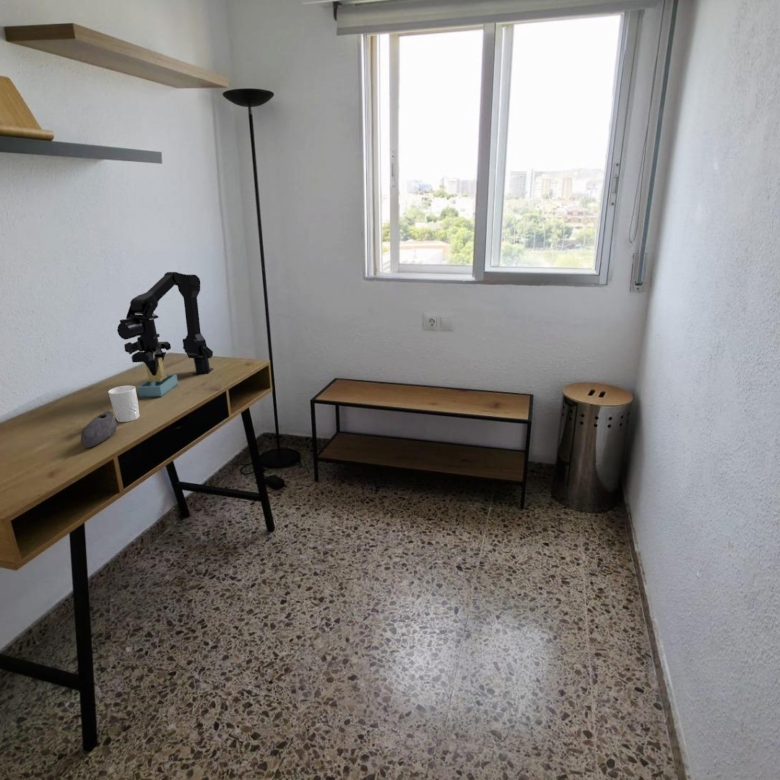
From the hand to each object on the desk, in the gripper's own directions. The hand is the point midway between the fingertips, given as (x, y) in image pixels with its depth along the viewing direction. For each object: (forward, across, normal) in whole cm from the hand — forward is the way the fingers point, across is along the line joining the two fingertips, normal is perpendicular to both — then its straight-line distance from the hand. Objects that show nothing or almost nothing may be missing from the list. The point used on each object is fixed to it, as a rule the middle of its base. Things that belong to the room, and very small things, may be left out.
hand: (156, 374), depth 194 cm
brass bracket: (+2, 0, 0) cm, 2 cm away
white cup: (+7, +27, +2) cm, 28 cm away
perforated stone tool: (+7, +44, +2) cm, 45 cm away
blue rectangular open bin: (+7, 0, 0) cm, 7 cm away
